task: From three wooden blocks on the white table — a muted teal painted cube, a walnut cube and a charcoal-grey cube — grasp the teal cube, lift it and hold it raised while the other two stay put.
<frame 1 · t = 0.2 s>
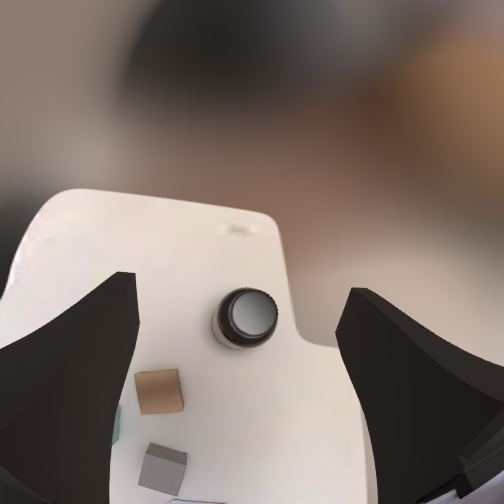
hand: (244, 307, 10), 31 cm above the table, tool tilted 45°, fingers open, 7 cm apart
walnut block: (162, 388, 35), on the table
teal block: (102, 418, 32), on the table
supplement bottle: (236, 325, 40), on the table
grey block: (164, 463, 31), on the table
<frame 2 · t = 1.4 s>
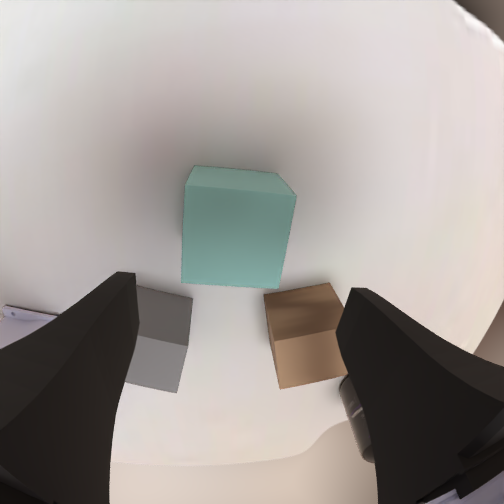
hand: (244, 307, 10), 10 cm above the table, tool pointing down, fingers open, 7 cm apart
walnut block: (298, 314, 23), on the table
teal block: (231, 207, 19), on the table
supplement bottle: (366, 378, 28), on the table
grey block: (155, 316, 22), on the table
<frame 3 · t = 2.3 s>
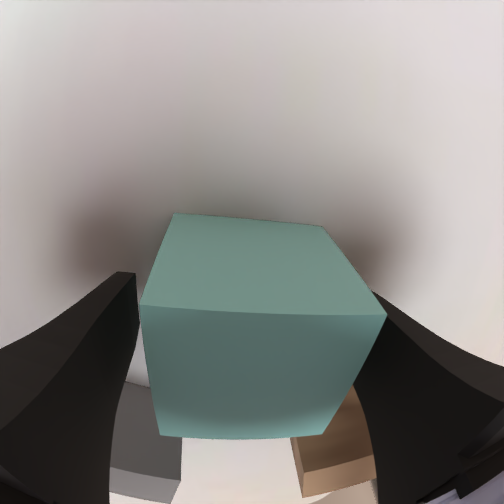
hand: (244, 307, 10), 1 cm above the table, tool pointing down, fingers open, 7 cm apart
walnut block: (329, 402, 15), on the table
teal block: (241, 282, 11), on the table
grey block: (135, 407, 14), on the table
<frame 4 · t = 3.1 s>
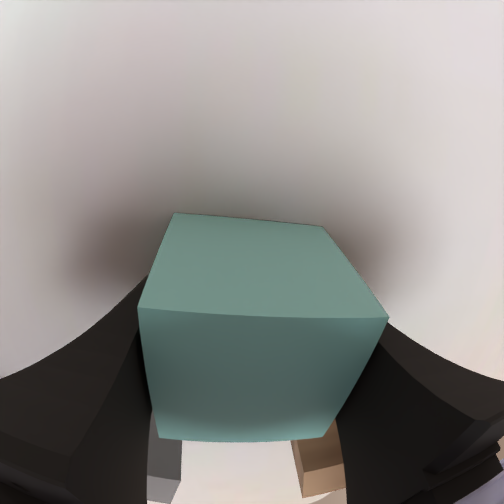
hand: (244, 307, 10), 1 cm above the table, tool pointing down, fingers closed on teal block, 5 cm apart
walnut block: (329, 402, 15), on the table
teal block: (241, 283, 11), on the table, touching gripper
grey block: (135, 407, 14), on the table
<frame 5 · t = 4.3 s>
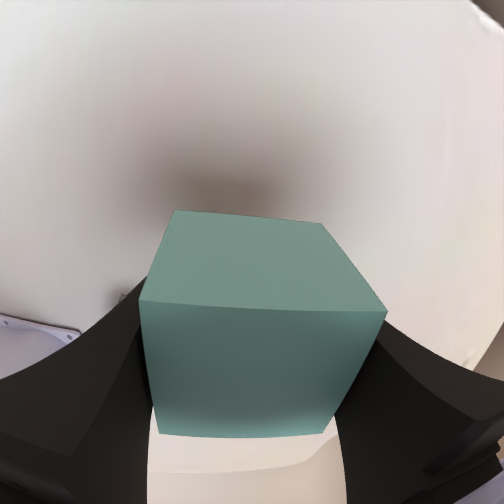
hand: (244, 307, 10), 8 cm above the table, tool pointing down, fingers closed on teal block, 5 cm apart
teal block: (241, 280, 11), point 7 cm above the table, touching gripper
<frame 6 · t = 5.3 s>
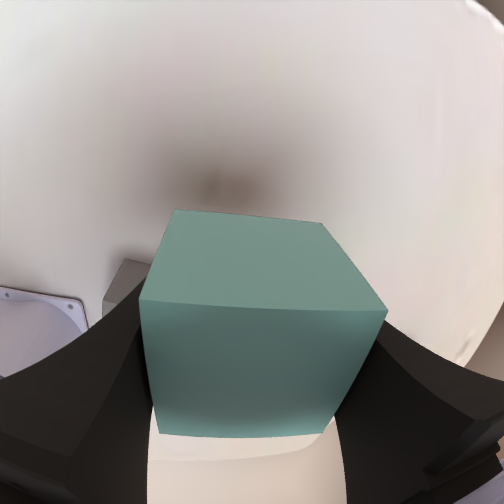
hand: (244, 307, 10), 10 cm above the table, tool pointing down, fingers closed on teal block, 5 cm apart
teal block: (241, 280, 11), point 8 cm above the table, touching gripper
grey block: (154, 295, 21), on the table
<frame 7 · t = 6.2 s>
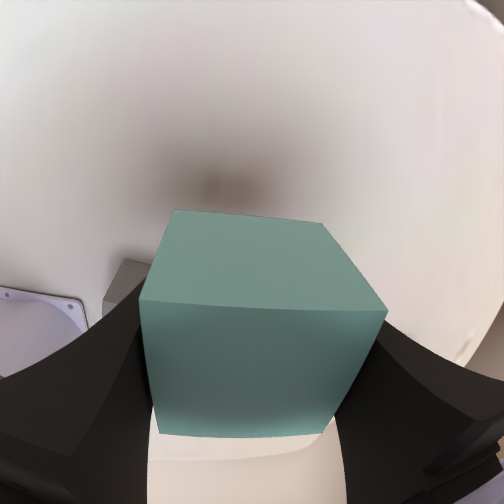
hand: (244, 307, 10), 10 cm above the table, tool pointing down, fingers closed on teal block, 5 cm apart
teal block: (241, 280, 11), point 8 cm above the table, touching gripper
grey block: (154, 295, 21), on the table
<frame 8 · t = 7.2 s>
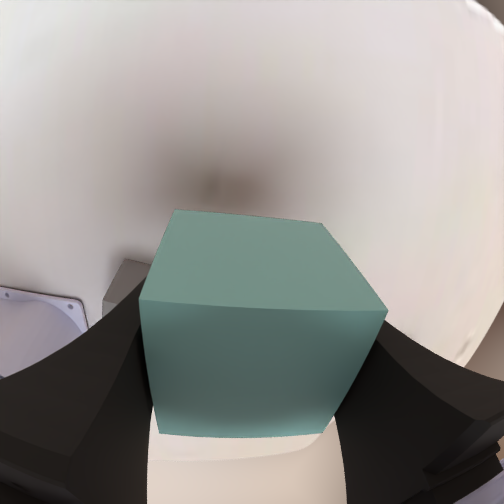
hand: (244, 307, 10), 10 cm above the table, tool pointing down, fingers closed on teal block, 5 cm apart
teal block: (241, 280, 11), point 8 cm above the table, touching gripper
grey block: (154, 295, 21), on the table
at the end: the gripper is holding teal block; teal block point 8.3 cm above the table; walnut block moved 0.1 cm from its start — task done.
